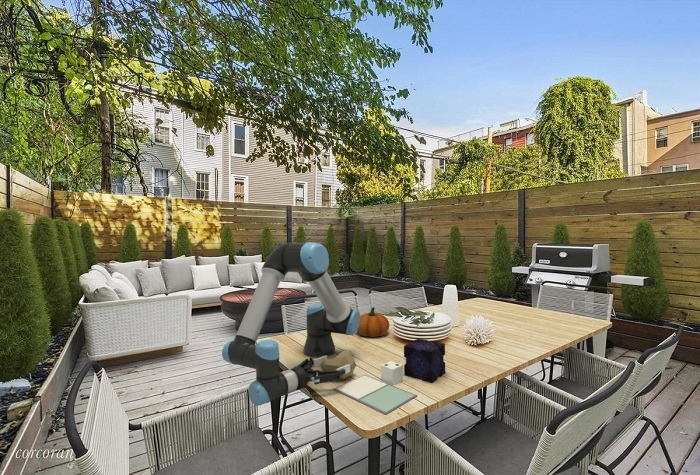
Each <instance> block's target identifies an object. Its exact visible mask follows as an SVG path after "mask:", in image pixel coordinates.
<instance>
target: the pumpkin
mask: <svg viewBox="0 0 700 475" xmlns="http://www.w3.org/2000/svg"><path fill="white" fill-rule="evenodd" d="M375 309H376V307H371V309H370V312H366V313H365V312H364V313H363V314H360V324H359V327H358V330H357V332H356V333H357V334H359V335H361V336H363V337H368V338H369V337H371V338H374V337H375V338H376V337H380V336H385V335H386V334H387V333H388V332H389V329H390V321H389V319H388V318H387V317H386V316H385V315H384V314H382V313H379V312H375Z"/></svg>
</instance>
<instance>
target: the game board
mask: <svg viewBox="0 0 700 475" xmlns="http://www.w3.org/2000/svg"><path fill="white" fill-rule="evenodd" d="M332 390H333V391H335V392H337V393H339V394H341V395H344V396H346V397H347V398H350V399H352V400H354V401H356V402H358V403H360V404H362V405H365V406H366V407H368V408H370V409H372V410H375V411H376V412H379V413H381V414H383V415H385V416H387V415H388V414H390V413H391V412H394V411H395V410H396V409H398V408H400V407H402V406H403V405H405V404H407V403H408V402H410V401H412V400H413V399H415V398H417V397H418V395H417V394H415V393H412V392H410V391H408V390H407V391H406V390H404V389H402V388H399V387H397V386H395V385H391V384H389V383H386V382H384V381H381V379H380V380H379V379H376V378H374V377H372V376H369V375H367V374H364V375H362V376H359V377H357V378H354V379H353V380H350V381H348V382H346V383H343V384H341V385H338V386H336V387H334V388H333V389H332Z"/></svg>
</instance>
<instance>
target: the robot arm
mask: <svg viewBox="0 0 700 475" xmlns="http://www.w3.org/2000/svg"><path fill="white" fill-rule="evenodd" d="M329 257H330V256H329V252H328V250H327V248H326V247H325V246H324V245H323V244H321V243H318V242H311V241H310V242H284V243H282V244H280V245H278V246H277V247H276V248H274V249H273V250H272V251H271V252H270V253H269V255H268V256H267V257H266V259H265V261H264V263H263V265H262V267H261V269H260V271H261V276H260V279H259V281H258V283H257V286H256V288H255V290H254V293H253V295H252V296H251V299H250V302H249V304H248V306H247V309H246V310H245V311H246V312H245V314H244V316H243V318H242V320H241V323H240V325H239V327H238V330H237V332H236V333H235V334H236V335H235V337H234V339H233V340H229V341H227V342H226V344H224V345H223V348H222V350H221V355H222V356H221V357H222V359H223V361H224V362H226V363H229V364H232V365H235V366H240V367H241V366H242V367H246V368H250V369H253V370H255V373H256V375H255V380H253V381H252V382H250V384H249V385H248V397H249V400H250V402H251V404H253V405H254V406H261V405H263V404H264V405H265V404H268V403H269V402H272V401H274V400H277V399H279V398H281V397H283V396H284V397H285V396H288V395H289V394H292V393H293V392H296V391H299V390H302V389H304V388H306V386H307V384H308V383H311V382H313V384H314V386H315V385H316V386H317V385H319V384H320V385H321V384H325V383H331V382H336V381H337V382H338V381H342V380H341V375H344V374H346V373H349V372H350V365H349V364H348V365H346V366H343V367H340V368H338V369H336V371H322V370H320V369H313V367H314V368H315V367H319V366H320V364H321V363H322V361H323V360H324V359H328V357H329V356H332V355H333V354H335V352H336V346H335V343H334V339H333V337H332V334H339V335H346V336H353V335H355V334H357V333H358V332H357V330H358V327H359V324H360V316H361V313H360V311H359V310H358V309H356V308H354V309H353V308H352V307H351V305H350V304H349V303H348V302H347V301H344V300H343V298H342V296H341V294H340V292H339V290H338V288H336V286H335V284H334V281H333V280H332V278H331V276H330V275H329V272H328V267H329V266H330V264H329V263H330V259H329ZM288 273H297V274H298V275H299V276H300V278H301V279H302V281H304V282H307V283H308V284H309V286H310V287H311V289H312V290H313V292H314V293H315V295H316V297H317V299H318V300H319V301H320V302H319V303H314V304H311V305H309V306H307V308H306V314H305V316H306V340H305V343H304V346H303V354H304V356H306V357H309V359H308V358H305V359H304V360H303V361H302V362H301V363H299V364H298V365H296V366H293V367H292V368H290V369H287V370H283V371H281V372H280V348H279V343H278V342H277V340H275V339H264V340H260V341H258V338H259V336H260V332H261V330H262V329H263V326H264V323H265V320H266V318H267V316H268V314H269V311H270V309H271V306H272V302H273V300H274V298H275V295H276V293H277V291H278V289H279V288H278V287H279V286H280V283H281V281H283V280H284V279H285V278H286V275H287V274H288ZM257 341H258V342H257ZM314 358H315V359H314Z"/></svg>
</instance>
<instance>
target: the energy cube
mask: <svg viewBox="0 0 700 475" xmlns="http://www.w3.org/2000/svg"><path fill="white" fill-rule="evenodd" d="M428 340H429V339H423V338H416V339H414V340H413V342H408V343H407V344H405V345H403V358H405V364H403V372H404V373H403V377H408V378H411V379H421V382H426V383H430V384H434V383H435V382H436V381H437V380H438V377H440V378H441V377H443V376H444V375H445V374H446V362H445V361H444V359H445V358H444V356H445V355H446V344H445V343H443V342H437V341H434V342H430V341H428Z"/></svg>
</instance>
